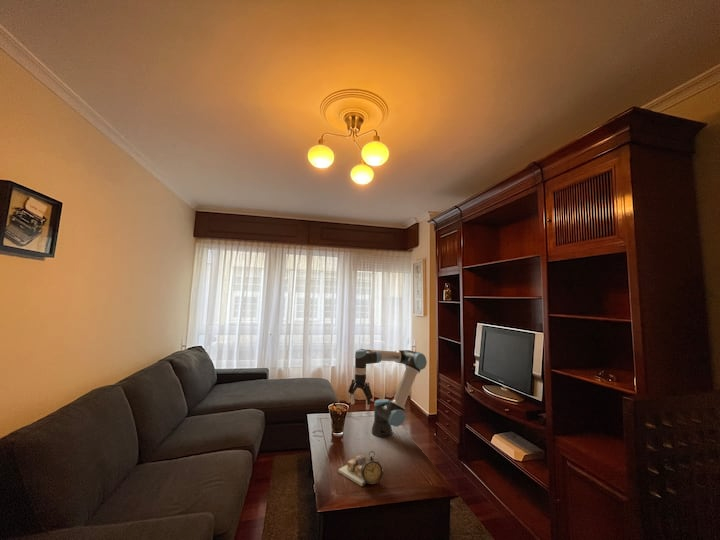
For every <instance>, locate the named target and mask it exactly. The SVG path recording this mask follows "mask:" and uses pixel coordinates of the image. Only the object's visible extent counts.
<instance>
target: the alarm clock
mask: <svg viewBox="0 0 720 540" xmlns="http://www.w3.org/2000/svg"><path fill="white" fill-rule="evenodd" d="M370 453H373V456H370ZM368 457H369V458H368V459H367V458H366V461H365V462H364V463H363V465H362V468H361V474H362V476H363V479H364V480H365V484H364V485H363V486H366V484H368V485H375V484H377V483H379V484H381V482H380V481H381V479H382V476H383V473H384V469H383V467H382V465H381V463H380V462H379V460H378V459H376V458H373V457H375V452H374V451H373V450H371V451H369V452H368ZM382 469H383V470H382Z"/></svg>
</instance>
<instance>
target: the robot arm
mask: <svg viewBox="0 0 720 540" xmlns="http://www.w3.org/2000/svg"><path fill="white" fill-rule="evenodd" d="M381 362H395V364H402V365H405V366H404V367H405V371H404V373H403V375H402V378H401V380H400V383H399V385H398V388H397V390H396V392H395V393H394V396H393V397H394V398H393V399H392V400H390V399H387V398H379V399H376V400H375V401H374V404H373V406H374V408H373V409H374V412H373V413H374V415H373V418H374V420H373V423H372V427H371V433H372V435H373V436H376V437H379V438H380V437H381V438H386V437H389V436H390V437H391V436H392V434H393V429H392V427H396V428H397V427H400V426H402V425H403V424H404V422H405V420H406V413H405V411H406V407H405V404H406V402H407V399H408V398H409V394H410V393H411V392H410V391H411V389H412V387H413V385H414V382H415V380H416V377H417V375H418V374H420V372H421V371H422V370H424V369H426V367H427V363H428V361H427V357H426V356H425V354H424V353H421V352H419V351H414V350H408V349H407V350H404V349H402V350H401V349H399V350H394V351H393V350H379V349H364V348H358V349H357V350H355V354H354V379H351V383H350V385H349V389H348V390H347V391H348V393H349V396H350V405H354V404H355V399H356V398H355V394H356V393H355V392H356V391H357V389H360V390H362V392H363V394H364V395H365V397H366V399H365V411H368V410H370V405H371V399H373V398H374V397H373V394H372V390H371V388H370V383H369V382H366V380H367V365H370V364H379V363H381Z"/></svg>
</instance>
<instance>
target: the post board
mask: <svg viewBox="0 0 720 540" xmlns="http://www.w3.org/2000/svg"><path fill="white" fill-rule="evenodd" d="M362 456H363V455H362ZM362 456H360V457H358V465H363V463H364V457H365V456H364V457H362ZM382 470H383V471H384V469H383V468H382ZM337 472H338V474H341V475H342V476H344V477H345V478H347V479H348V480H350V481H352V482H354V483H355V484H357V485H359V486H360V487H363V486H364V484H365V480H364V479H363V477H360V476H358V475H356V467H355V471H354V472H351V471H349V470H348V469H347V464H346V465H344V466H342V467H340V468H338V471H337ZM365 485H366V484H365Z"/></svg>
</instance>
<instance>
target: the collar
mask: <svg viewBox="0 0 720 540" xmlns="http://www.w3.org/2000/svg"><path fill="white" fill-rule="evenodd" d="M360 456H362V457H364V462H365V461H366V460H367V457H366V456H364V455H363V454H359V455H357V456H355V457H353V458H352V459H350V460H348V461H347V462H346V463H347V464H346V465H347V469H348V470H349V471H351V472H354V471H355V467H356V475H358V476H360V477H363V476H362V474H361V468H362V465H358V457H360Z"/></svg>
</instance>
